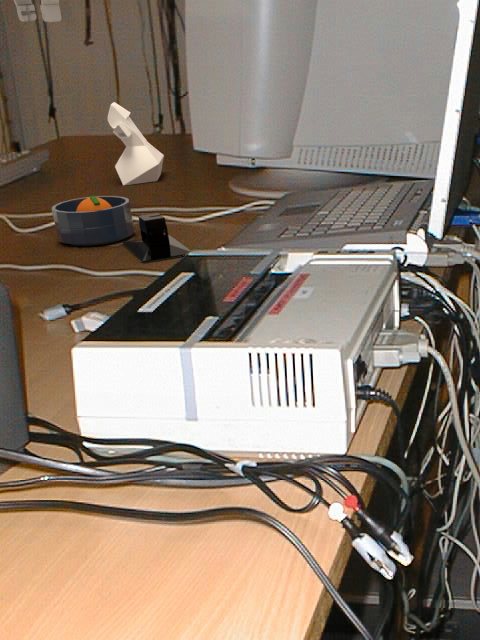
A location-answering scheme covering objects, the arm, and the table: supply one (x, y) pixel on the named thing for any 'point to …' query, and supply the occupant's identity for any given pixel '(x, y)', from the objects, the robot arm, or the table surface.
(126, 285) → the table surface
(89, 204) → the toy tangerine
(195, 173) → the table surface
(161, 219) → the black winged block
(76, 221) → the bowl
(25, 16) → the robot arm
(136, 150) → the white angular stand
